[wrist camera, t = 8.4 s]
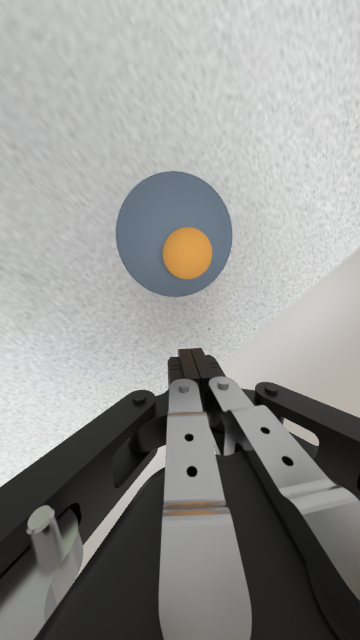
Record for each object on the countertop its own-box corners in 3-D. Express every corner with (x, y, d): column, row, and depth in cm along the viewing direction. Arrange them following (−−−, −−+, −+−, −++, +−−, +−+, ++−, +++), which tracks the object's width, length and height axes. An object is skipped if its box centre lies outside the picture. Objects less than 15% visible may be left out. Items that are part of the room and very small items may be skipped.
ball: (170, 212, 19) (167, 228, 24) (157, 270, 20) (157, 274, 25) (225, 228, 20) (210, 241, 25) (210, 284, 20) (199, 284, 26)
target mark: (121, 297, 26) (121, 297, 25) (110, 170, 22) (110, 169, 22) (228, 294, 27) (229, 295, 27) (234, 173, 23) (235, 172, 23)
